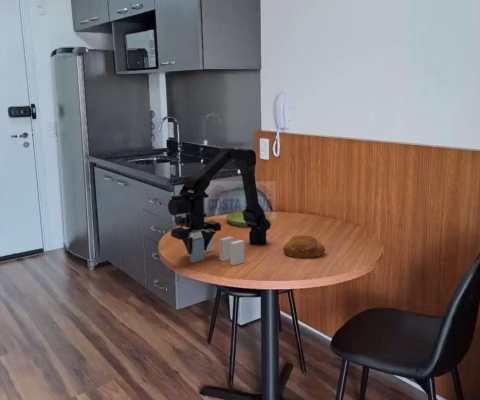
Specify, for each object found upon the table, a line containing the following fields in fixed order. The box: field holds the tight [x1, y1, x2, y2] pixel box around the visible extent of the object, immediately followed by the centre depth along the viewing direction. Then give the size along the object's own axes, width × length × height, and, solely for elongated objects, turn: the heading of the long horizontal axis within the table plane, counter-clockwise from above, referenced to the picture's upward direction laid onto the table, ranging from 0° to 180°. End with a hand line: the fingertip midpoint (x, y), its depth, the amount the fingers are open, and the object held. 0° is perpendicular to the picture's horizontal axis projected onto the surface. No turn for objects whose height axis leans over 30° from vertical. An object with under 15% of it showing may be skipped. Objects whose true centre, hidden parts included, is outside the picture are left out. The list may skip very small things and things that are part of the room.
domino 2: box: [189, 238, 205, 263], centre depth 177 cm, size 2×5×8 cm, turn 131°
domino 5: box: [229, 239, 245, 266], centre depth 174 cm, size 2×5×8 cm, turn 131°
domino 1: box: [190, 231, 201, 239], centre depth 192 cm, size 2×5×8 cm, turn 131°
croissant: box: [282, 235, 326, 258], centre depth 185 cm, size 14×16×8 cm
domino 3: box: [200, 232, 214, 254], centre depth 187 cm, size 2×5×8 cm, turn 131°
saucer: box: [225, 211, 270, 228], centre depth 230 cm, size 21×21×3 cm
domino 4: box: [218, 235, 234, 262], centre depth 178 cm, size 2×5×8 cm, turn 131°
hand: (197, 252), depth 177 cm, fingers open, 6 cm apart
